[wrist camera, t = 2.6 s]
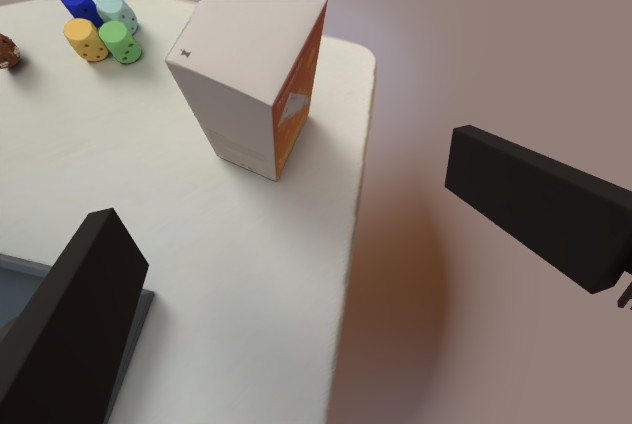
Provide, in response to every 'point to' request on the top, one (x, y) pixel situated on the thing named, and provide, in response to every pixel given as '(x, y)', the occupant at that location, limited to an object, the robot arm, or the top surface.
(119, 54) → the dice
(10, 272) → the tray
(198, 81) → the small box
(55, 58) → the top surface
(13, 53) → the chocolate
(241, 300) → the top surface
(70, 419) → the robot arm
